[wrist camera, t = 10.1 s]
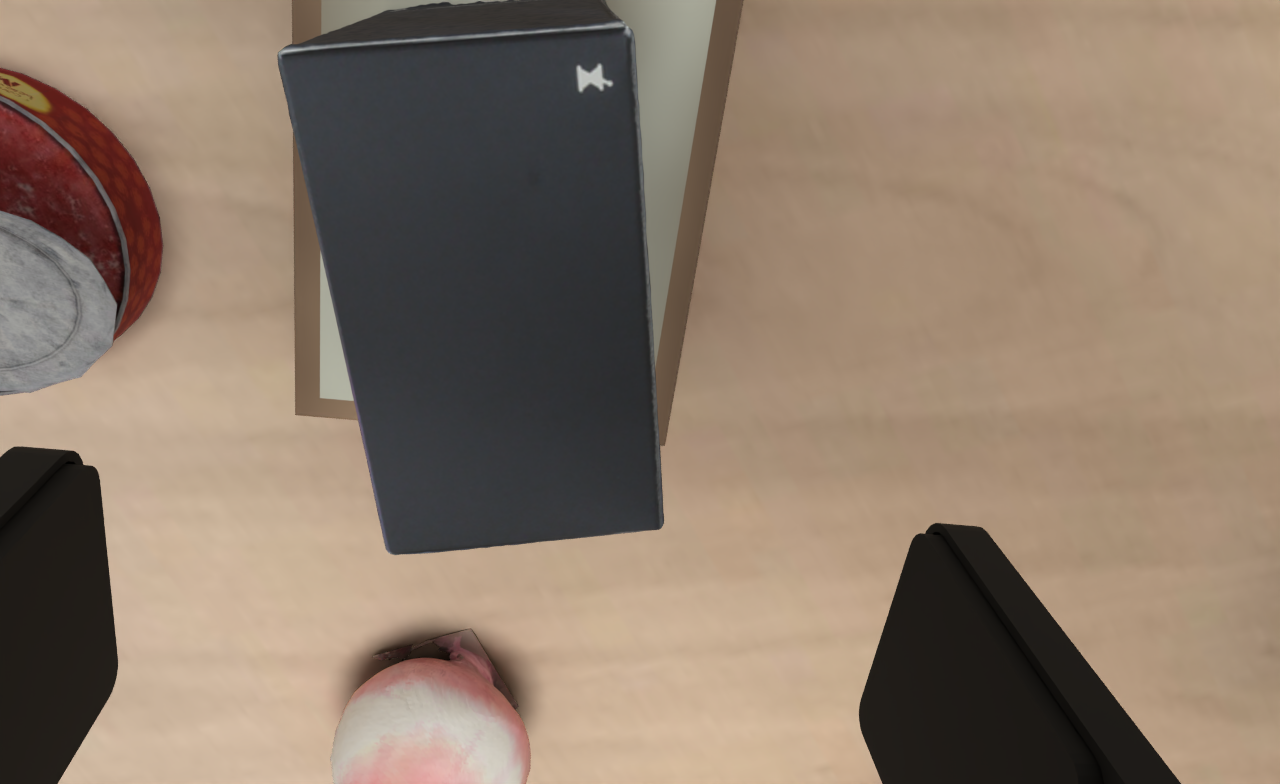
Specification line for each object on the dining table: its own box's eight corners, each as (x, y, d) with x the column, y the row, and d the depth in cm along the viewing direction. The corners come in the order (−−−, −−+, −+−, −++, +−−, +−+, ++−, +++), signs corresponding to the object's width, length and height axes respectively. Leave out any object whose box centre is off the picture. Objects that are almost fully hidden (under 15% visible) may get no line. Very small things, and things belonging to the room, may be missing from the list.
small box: (361, 6, 24) (249, 35, 15) (606, -12, 25) (649, 4, 15) (427, 370, 29) (373, 569, 20) (633, 350, 29) (678, 535, 20)
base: (729, -75, 28) (759, -80, 24) (651, 395, 35) (665, 449, 31) (324, -144, 27) (288, -162, 23) (322, 365, 33) (293, 418, 29)
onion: (353, 730, 42) (265, 840, 35) (409, 588, 39) (326, 675, 33) (513, 809, 41) (456, 936, 34) (577, 670, 39) (531, 775, 32)
